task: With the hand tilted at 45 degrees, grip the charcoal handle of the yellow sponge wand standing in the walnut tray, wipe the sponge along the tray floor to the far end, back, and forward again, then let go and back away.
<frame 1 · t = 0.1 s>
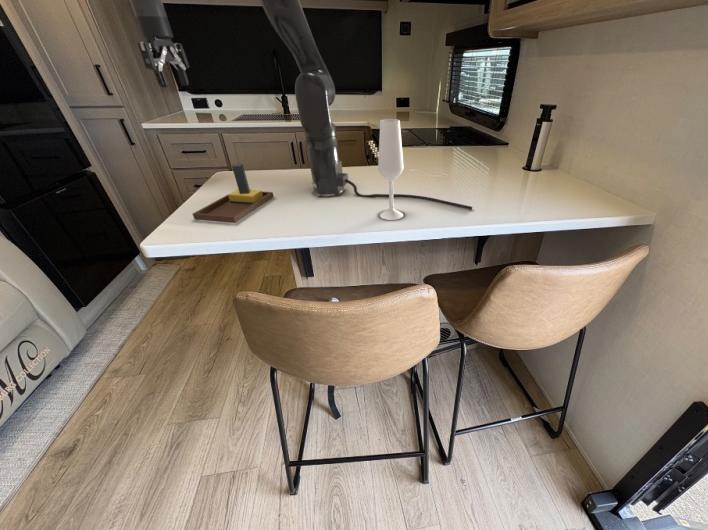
hand: (175, 86, 100), 29 cm above the countertop, tool pointing down, fingers open, 8 cm apart
sponge: (247, 200, 102), point 1 cm above the countertop, touching tray
tray: (237, 209, 98), on the countertop
champagne flute: (391, 215, 94), on the countertop
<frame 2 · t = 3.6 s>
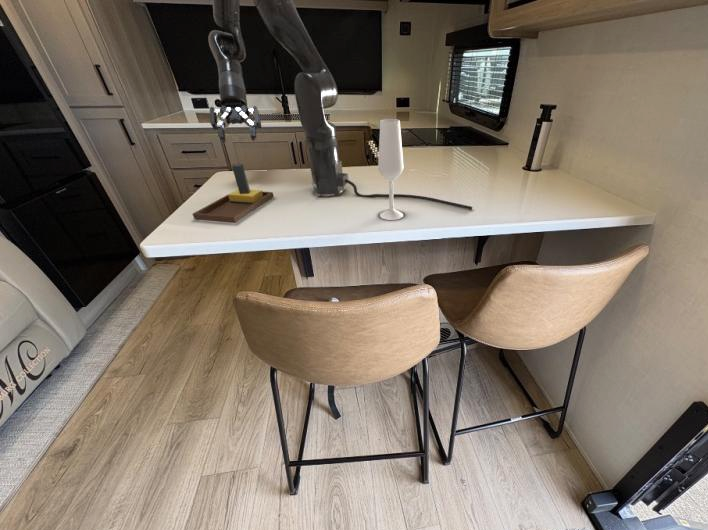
hand: (238, 139, 102), 16 cm above the countertop, tool tilted 45°, fingers open, 8 cm apart
nothing on the countertop moved.
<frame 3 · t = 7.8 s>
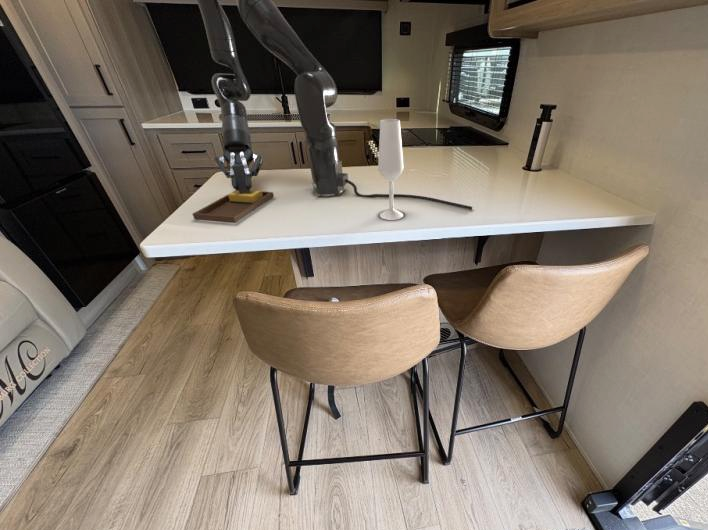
hand: (242, 188, 98), 5 cm above the countertop, tool tilted 45°, fingers closed on sponge, 2 cm apart
sponge: (247, 200, 102), point 1 cm above the countertop, touching gripper, tray
everything else where it was.
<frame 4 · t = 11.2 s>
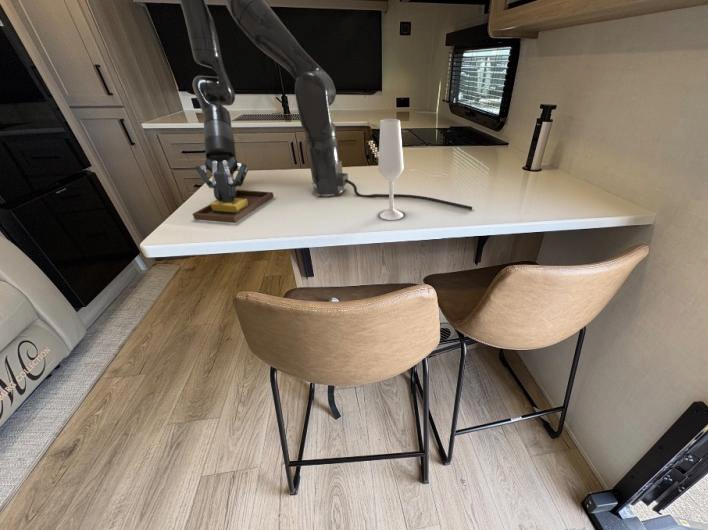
hand: (225, 199, 91), 5 cm above the countertop, tool tilted 45°, fingers closed on sponge, 2 cm apart
sponge: (231, 209, 96), point 1 cm above the countertop, touching gripper
everything else where it was.
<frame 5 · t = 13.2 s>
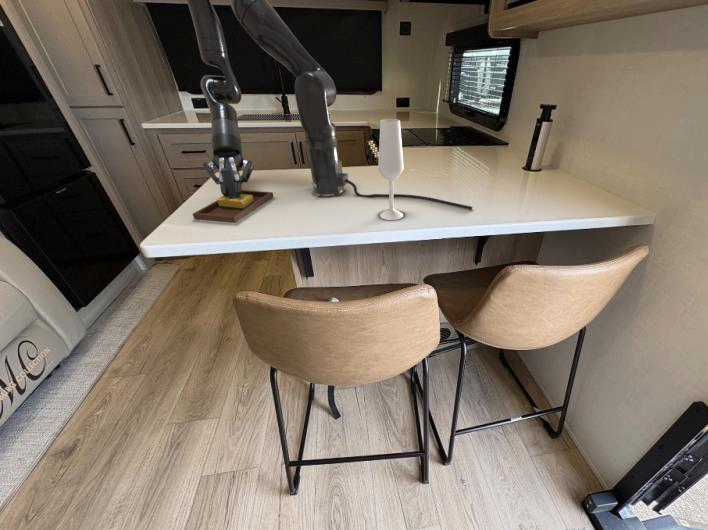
hand: (232, 195, 94), 5 cm above the countertop, tool tilted 45°, fingers closed on sponge, 2 cm apart
sponge: (237, 205, 98), point 1 cm above the countertop, touching gripper
everything else where it was.
when the fingers open (5 cm above the countertop, at t = 14.5 s): sponge stays where it is, resting on tray.
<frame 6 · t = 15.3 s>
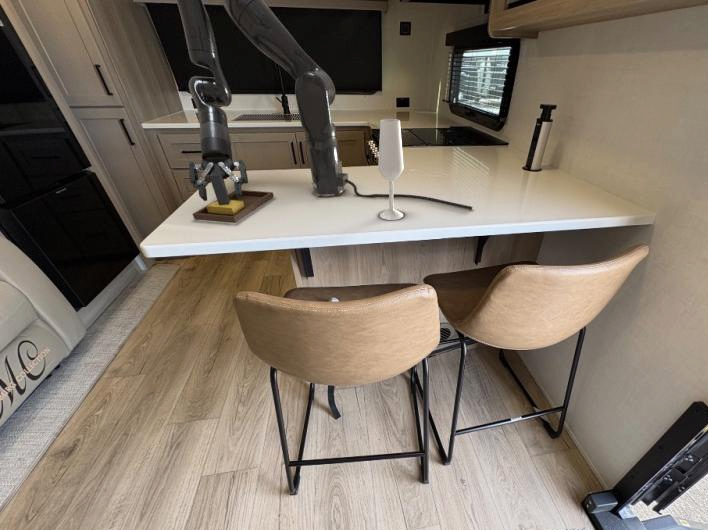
hand: (221, 198, 90), 5 cm above the countertop, tool tilted 45°, fingers open, 8 cm apart
sponge: (227, 212, 95), point 1 cm above the countertop, touching tray
everything else where it was.
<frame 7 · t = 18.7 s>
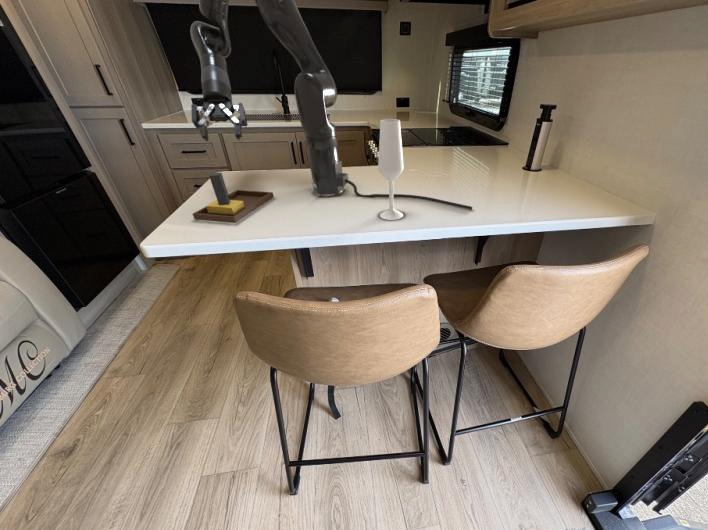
hand: (222, 138, 95), 17 cm above the countertop, tool tilted 45°, fingers open, 8 cm apart
nothing on the countertop moved.
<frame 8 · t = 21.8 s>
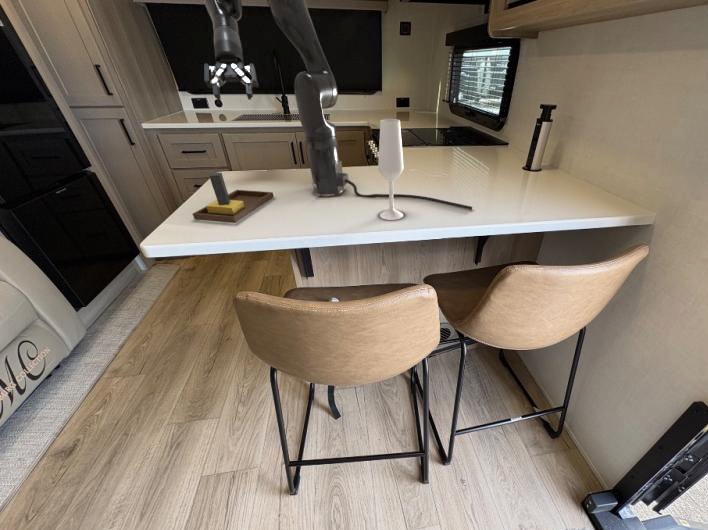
hand: (233, 97, 97), 27 cm above the countertop, tool tilted 45°, fingers open, 8 cm apart
nothing on the countertop moved.
at the end: sponge inside the target area in the tray (1.0 cm from its centre), point 0.6 cm above the tray's base; sponge touching tray; sponge tilted 0° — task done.
